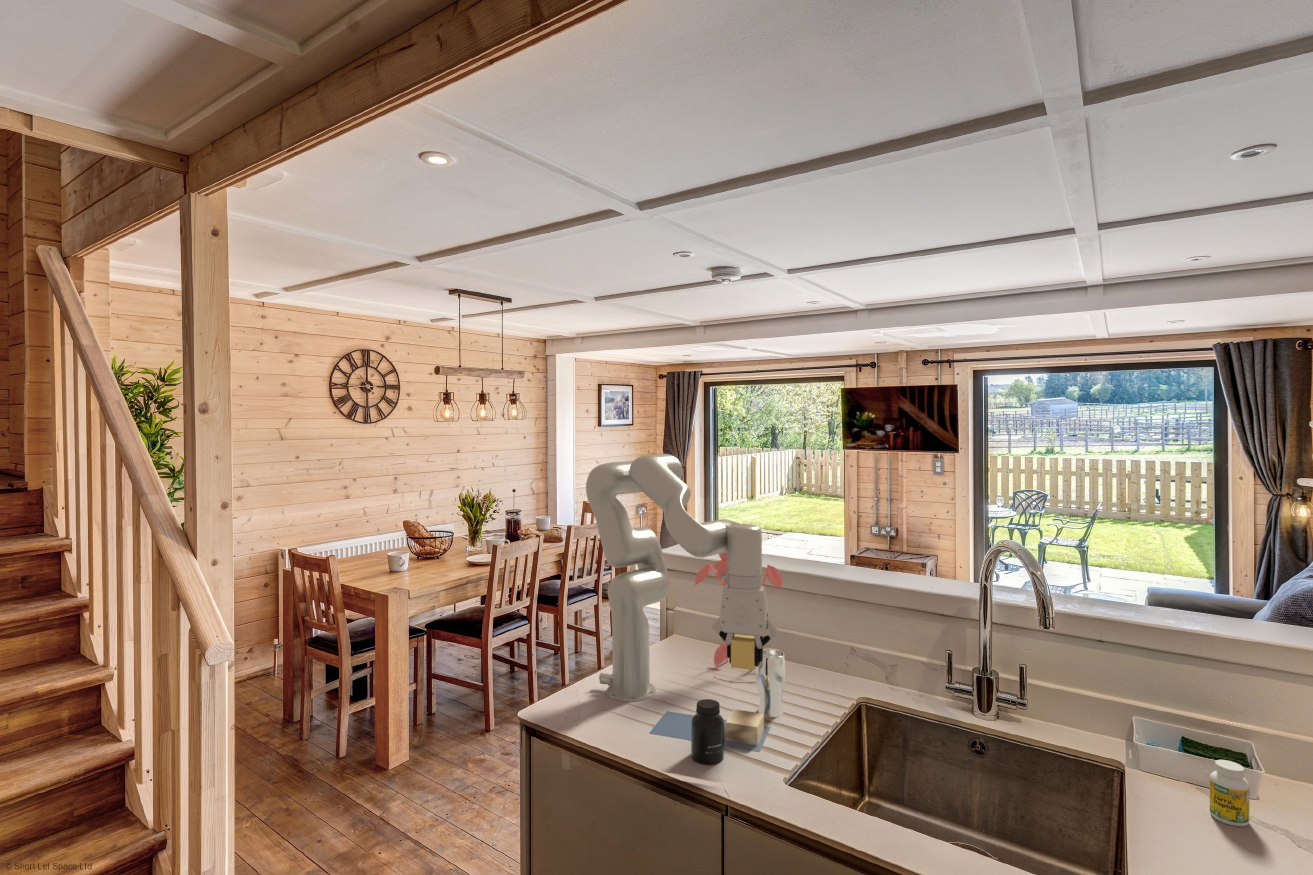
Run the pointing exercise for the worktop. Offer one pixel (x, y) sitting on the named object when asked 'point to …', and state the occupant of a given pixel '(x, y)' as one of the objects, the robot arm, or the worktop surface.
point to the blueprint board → (681, 728)
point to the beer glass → (771, 682)
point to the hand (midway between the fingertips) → (744, 661)
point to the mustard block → (743, 652)
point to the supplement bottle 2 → (1229, 793)
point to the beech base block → (745, 727)
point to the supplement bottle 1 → (707, 733)
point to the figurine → (721, 566)
